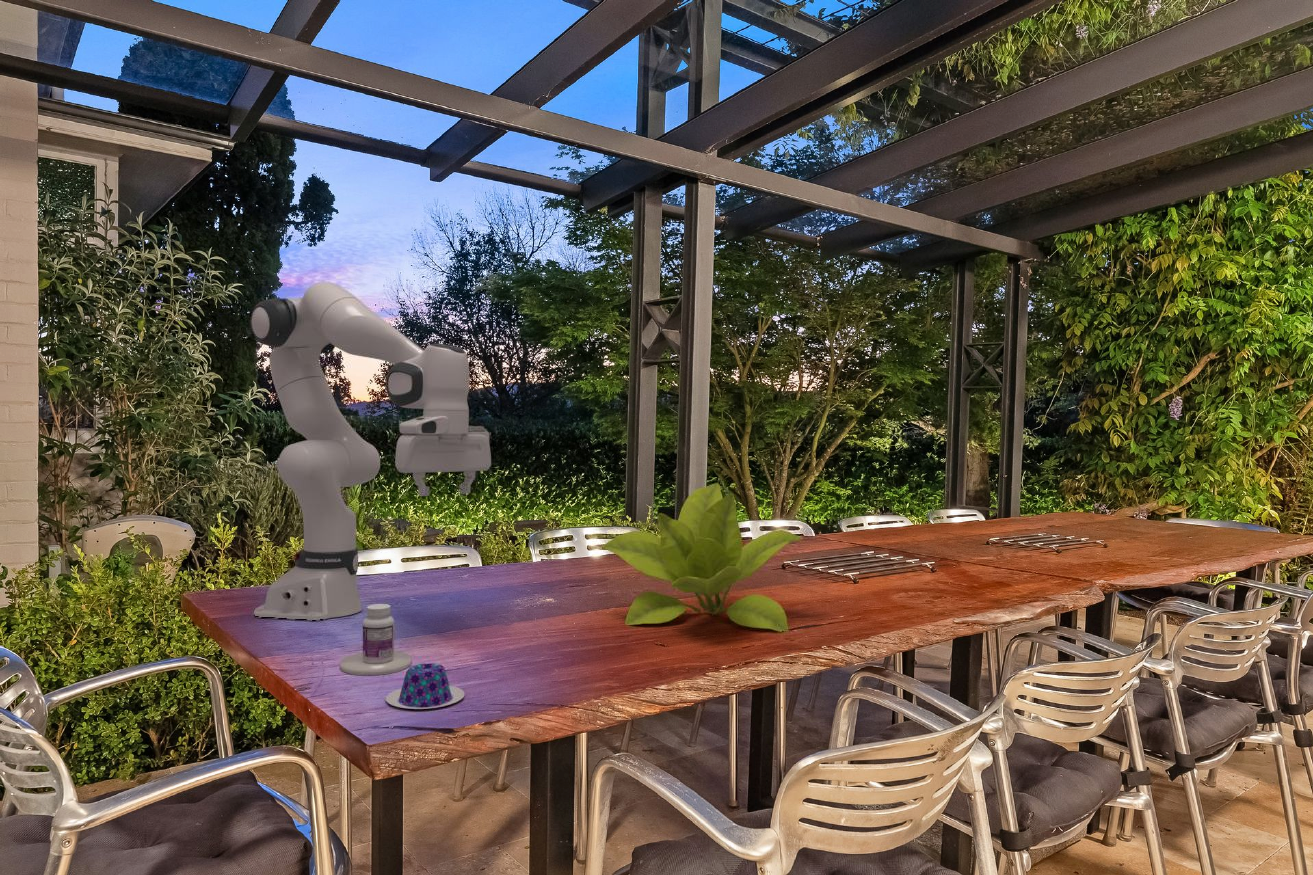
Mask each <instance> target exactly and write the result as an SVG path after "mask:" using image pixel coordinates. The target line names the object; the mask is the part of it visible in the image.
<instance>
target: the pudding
mask: <svg viewBox="0 0 1313 875" xmlns="http://www.w3.org/2000/svg"><path fill="white" fill-rule="evenodd" d="M401 686H402V687H401V688H398V689H395V690H393V691H392V692H390V693H388V694H387V695H386V697H385V701H386V702H387V704H390V705H391V706H394V707H397V708H403V709H411V710H425V709H436V708H441V707H445V706H449V705H452V704H455V703H457V702H459V701H461V700H462V699H463V698H464V697H465V695H466V694H465V692H464V690H463V689H461V688H459V687H457V686H454V685H450V684H449V680H448V675H447V670H446V668H445V667H444V666H443V665H442V664H437V663H434V662H433V663H431V662H430V663H429V662H428V663H419V664H414V665H411V666H410V667H408V668H407V669H406V672H405V675H404V679H403V682H402V685H401ZM397 699H398V700H397Z"/></svg>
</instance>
